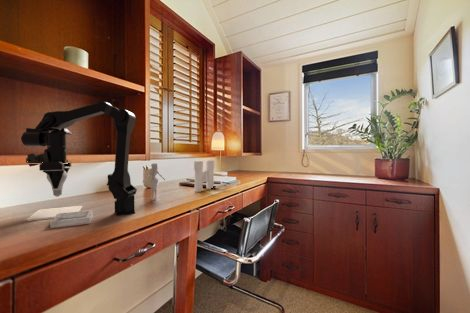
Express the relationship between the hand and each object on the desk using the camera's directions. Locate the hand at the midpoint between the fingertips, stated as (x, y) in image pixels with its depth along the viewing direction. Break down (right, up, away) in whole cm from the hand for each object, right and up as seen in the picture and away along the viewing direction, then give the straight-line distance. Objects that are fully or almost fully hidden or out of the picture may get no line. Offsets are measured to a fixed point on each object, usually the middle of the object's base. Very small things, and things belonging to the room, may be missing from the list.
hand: (57, 187), depth 85 cm
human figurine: (+28, -10, +23) cm, 38 cm away
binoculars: (+49, -9, +53) cm, 73 cm away
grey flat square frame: (+13, -10, -9) cm, 18 cm away
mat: (0, -10, 0) cm, 10 cm away
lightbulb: (0, -4, 0) cm, 4 cm away
